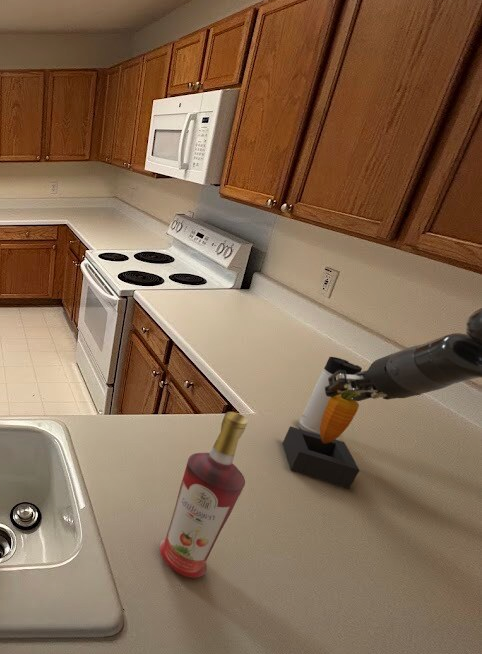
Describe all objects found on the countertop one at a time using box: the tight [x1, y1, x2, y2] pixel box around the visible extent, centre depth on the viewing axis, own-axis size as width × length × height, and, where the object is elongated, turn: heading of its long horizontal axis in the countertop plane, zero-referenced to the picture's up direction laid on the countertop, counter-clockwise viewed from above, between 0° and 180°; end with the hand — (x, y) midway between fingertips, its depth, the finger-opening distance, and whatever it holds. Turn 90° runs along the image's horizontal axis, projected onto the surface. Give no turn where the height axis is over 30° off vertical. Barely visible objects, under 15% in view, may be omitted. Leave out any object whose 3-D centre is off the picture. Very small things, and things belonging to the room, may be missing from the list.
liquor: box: [159, 411, 249, 578], centre depth 60 cm, size 7×7×28 cm
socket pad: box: [282, 425, 360, 490], centre depth 90 cm, size 10×10×5 cm
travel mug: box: [297, 356, 363, 435], centre depth 99 cm, size 6×7×20 cm
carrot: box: [320, 385, 361, 444], centre depth 86 cm, size 5×5×15 cm
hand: (340, 394), depth 86 cm, fingers closed on carrot, 4 cm apart
